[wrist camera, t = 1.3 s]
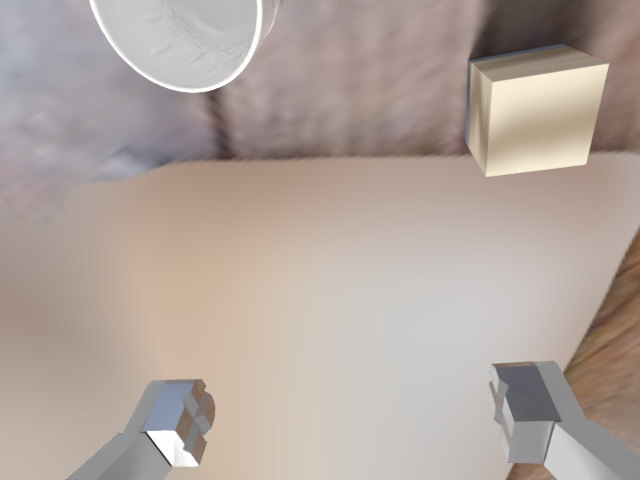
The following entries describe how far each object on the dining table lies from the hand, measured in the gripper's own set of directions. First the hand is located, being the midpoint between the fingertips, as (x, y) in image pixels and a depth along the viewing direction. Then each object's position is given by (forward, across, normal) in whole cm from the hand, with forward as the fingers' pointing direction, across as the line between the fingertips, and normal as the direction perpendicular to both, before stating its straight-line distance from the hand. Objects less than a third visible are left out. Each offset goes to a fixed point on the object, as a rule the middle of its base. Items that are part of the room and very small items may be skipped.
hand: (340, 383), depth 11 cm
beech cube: (+23, -12, 0) cm, 26 cm away
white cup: (+23, +6, -10) cm, 26 cm away
